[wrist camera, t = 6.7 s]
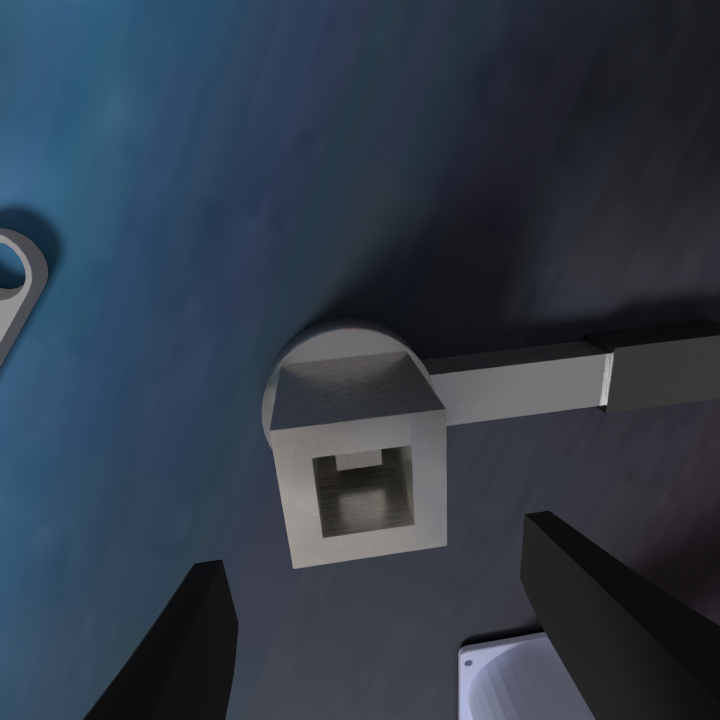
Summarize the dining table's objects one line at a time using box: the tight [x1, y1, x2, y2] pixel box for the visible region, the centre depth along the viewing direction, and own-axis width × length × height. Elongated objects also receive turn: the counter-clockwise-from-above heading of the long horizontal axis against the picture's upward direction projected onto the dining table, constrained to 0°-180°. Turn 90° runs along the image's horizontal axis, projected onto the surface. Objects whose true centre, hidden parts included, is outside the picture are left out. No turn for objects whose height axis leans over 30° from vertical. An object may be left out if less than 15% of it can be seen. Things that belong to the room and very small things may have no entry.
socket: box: [270, 351, 447, 569], centre depth 15 cm, size 5×5×5 cm
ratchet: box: [262, 317, 720, 471], centre depth 17 cm, size 7×20×4 cm, turn 95°
